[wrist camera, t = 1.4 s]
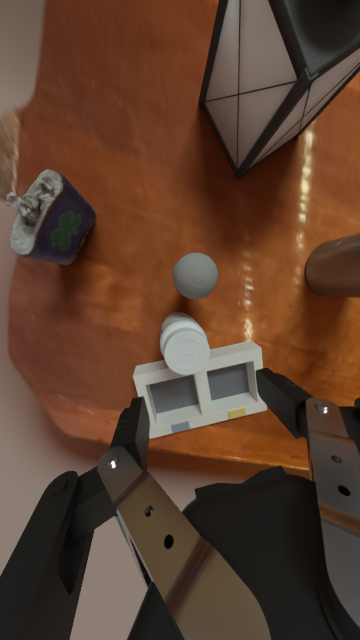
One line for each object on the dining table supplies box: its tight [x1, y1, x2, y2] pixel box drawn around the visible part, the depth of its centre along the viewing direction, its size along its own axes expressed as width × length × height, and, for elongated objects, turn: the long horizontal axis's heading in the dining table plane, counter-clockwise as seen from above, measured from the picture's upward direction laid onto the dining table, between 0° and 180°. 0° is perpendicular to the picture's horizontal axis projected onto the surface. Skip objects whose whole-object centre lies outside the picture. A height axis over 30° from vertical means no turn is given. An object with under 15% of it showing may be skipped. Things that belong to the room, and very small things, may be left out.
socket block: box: [133, 341, 267, 439], centre depth 31 cm, size 21×12×4 cm, turn 101°
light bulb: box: [173, 253, 218, 299], centre depth 24 cm, size 6×6×10 cm
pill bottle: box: [160, 312, 210, 375], centre depth 25 cm, size 6×6×11 cm
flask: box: [7, 169, 96, 265], centre depth 21 cm, size 9×3×11 cm, turn 148°
